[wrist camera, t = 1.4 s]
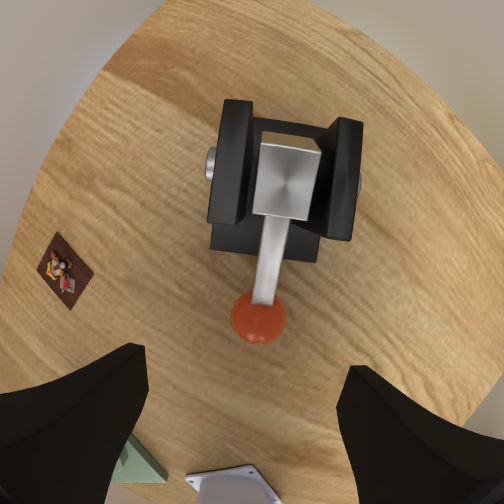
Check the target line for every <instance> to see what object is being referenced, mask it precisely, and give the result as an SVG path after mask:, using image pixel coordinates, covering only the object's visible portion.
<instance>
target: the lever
mask: <svg viewBox="0 0 504 504" xmlns="http://www.w3.org/2000/svg"><path fill="white" fill-rule="evenodd" d="M321 158H322V151H321V150H320V148H319V147H318V145H317V144H316V143H315V141H314V140H313V139H311V138H306V137H300V136H294V135H288V134H281V133H274V132H267V131H263V132H262V133H261V137H260V143H259V150H258V158H257V166H256V174H255V181H254V189H253V197H252V205H251V213H252V214H259V215H263V222H262V229H261V235H260V242H259V249H258V255H257V262H256V269H255V275H254V282H253V288H252V291H249V292H247V293H245V294H243V295H242V296H241V297H239V298H238V299H237V301H236V302H235V304H234V306H233V308H232V312H231V322H232V326H233V329H234V330H235V332H236V333H237V335H238V336H239V337H240V338H241V339H243V340H244V341H246V342H248V343H251V344H265V343H269V342H271V341H273V340H274V339H276V338H277V337H278V336H279V335H280V334H281V332H282V331H283V329H284V327H285V323H286V310H285V307H284V305H283V303H282V302H281V300H280V299H279V298H278V297H277V296H276V295H275V293H276V288H277V284H278V279H279V275H280V270H281V265H282V261H283V256H284V251H285V246H286V242H287V237H288V232H289V227H290V222H291V219H295V220H302V221H307V220H308V218H309V214H310V209H311V205H312V200H313V196H314V191H315V187H316V182H317V177H318V172H319V168H320V163H321Z"/></svg>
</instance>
